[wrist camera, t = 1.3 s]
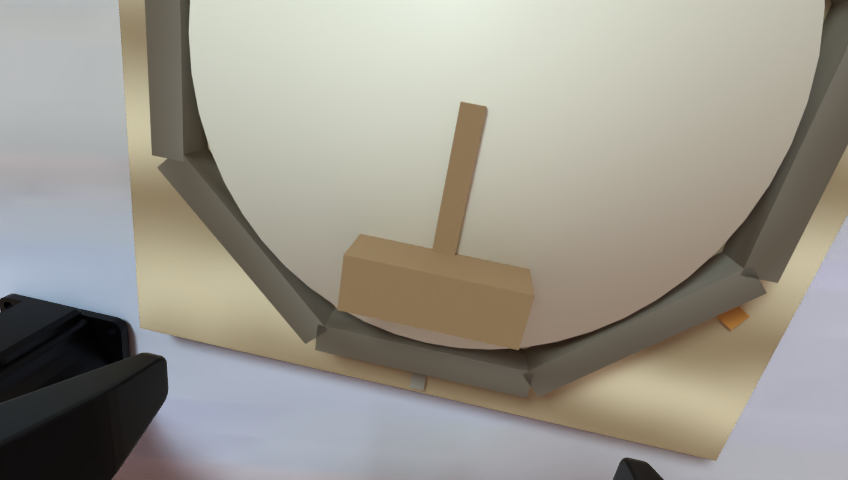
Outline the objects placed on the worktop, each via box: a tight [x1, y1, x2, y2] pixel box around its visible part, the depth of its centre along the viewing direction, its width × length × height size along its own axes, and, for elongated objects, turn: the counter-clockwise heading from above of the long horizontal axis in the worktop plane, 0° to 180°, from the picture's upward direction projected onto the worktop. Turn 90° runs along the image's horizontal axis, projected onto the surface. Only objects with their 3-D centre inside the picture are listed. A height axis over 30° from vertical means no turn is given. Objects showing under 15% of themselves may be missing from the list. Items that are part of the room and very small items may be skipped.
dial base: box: [119, 0, 848, 461], centre depth 16 cm, size 26×26×3 cm
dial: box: [189, 0, 825, 350], centre depth 14 cm, size 19×19×4 cm
